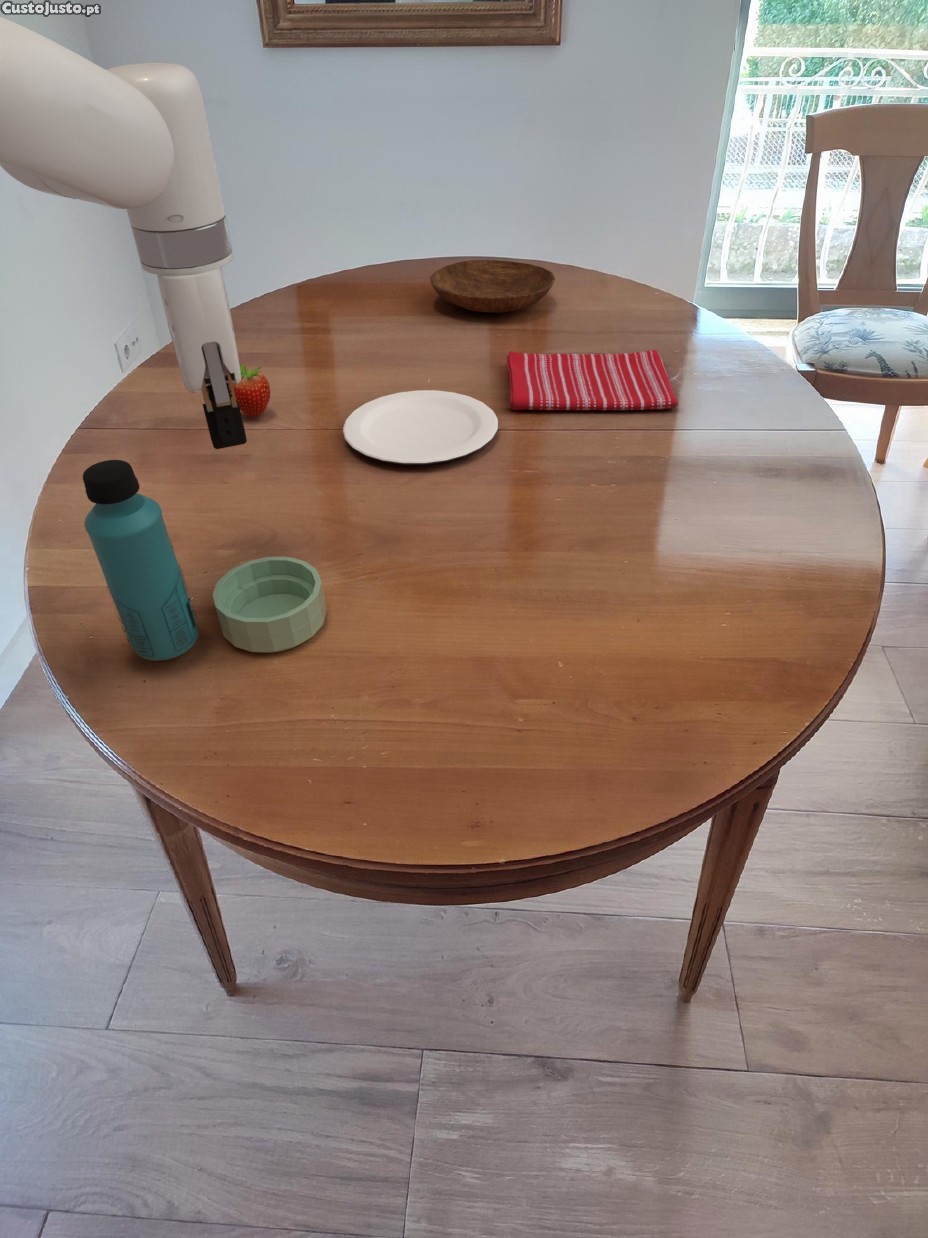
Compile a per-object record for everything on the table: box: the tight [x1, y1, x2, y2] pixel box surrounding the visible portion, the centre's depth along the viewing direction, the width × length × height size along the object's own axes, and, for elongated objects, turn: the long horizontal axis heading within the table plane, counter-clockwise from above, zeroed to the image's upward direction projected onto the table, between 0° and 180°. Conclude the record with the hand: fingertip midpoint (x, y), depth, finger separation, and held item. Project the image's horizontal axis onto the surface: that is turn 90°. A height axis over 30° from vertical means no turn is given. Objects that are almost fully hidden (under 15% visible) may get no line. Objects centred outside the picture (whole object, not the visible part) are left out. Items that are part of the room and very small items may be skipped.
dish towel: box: [506, 349, 679, 411], centre depth 122 cm, size 17×24×3 cm
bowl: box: [429, 259, 556, 314], centre depth 148 cm, size 20×22×5 cm
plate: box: [342, 389, 499, 466], centre depth 113 cm, size 21×21×2 cm
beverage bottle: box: [82, 459, 200, 662], centre depth 74 cm, size 6×7×20 cm
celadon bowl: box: [212, 556, 327, 654], centre depth 82 cm, size 10×10×4 cm
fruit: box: [233, 363, 271, 419], centre depth 116 cm, size 5×5×8 cm
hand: (229, 442), depth 81 cm, fingers closed
